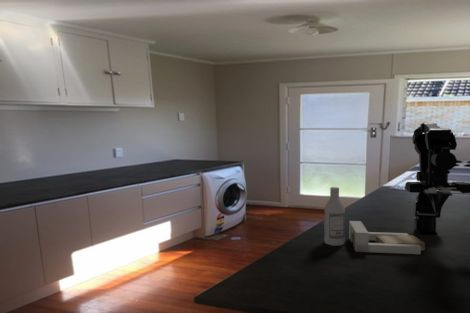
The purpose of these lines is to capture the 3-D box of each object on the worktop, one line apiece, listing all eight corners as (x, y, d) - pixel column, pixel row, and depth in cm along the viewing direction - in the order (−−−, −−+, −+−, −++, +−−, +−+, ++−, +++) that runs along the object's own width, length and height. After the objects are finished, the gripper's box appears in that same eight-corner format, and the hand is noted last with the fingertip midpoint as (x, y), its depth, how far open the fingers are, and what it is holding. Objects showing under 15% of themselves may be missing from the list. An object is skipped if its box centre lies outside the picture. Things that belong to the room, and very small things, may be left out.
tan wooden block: (412, 243, 123) (412, 235, 123) (424, 251, 115) (424, 242, 115) (375, 244, 123) (375, 235, 123) (385, 252, 115) (385, 243, 115)
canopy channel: (406, 240, 125) (407, 222, 125) (420, 254, 111) (421, 234, 111) (349, 238, 129) (349, 220, 128) (355, 251, 115) (356, 232, 114)
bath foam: (348, 244, 122) (349, 188, 120) (333, 247, 119) (333, 190, 117) (335, 238, 128) (335, 185, 127) (320, 241, 125) (320, 187, 124)
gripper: (457, 163, 121) (456, 207, 122) (400, 163, 124) (399, 206, 126) (473, 167, 110) (471, 215, 111) (411, 167, 113) (409, 214, 115)
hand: (436, 212), depth 116 cm, fingers closed
